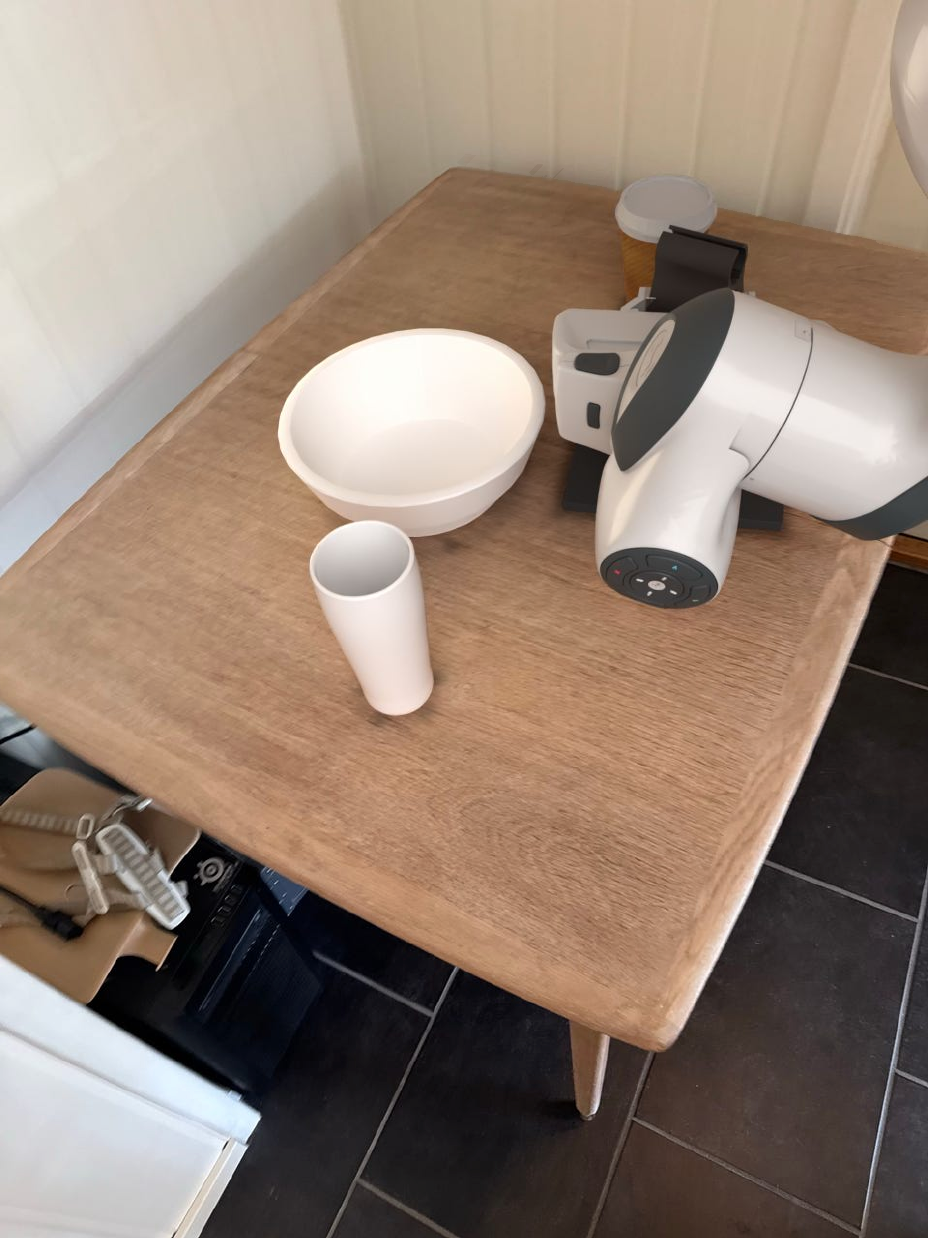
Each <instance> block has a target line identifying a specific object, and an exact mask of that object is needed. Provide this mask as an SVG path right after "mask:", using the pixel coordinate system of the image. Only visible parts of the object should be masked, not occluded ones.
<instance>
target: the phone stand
mask: <svg viewBox="0 0 928 1238" xmlns="http://www.w3.org/2000/svg"><path fill="white" fill-rule="evenodd" d="M669 229H671V230H672V233H670V232H666V231H663V232H662V234H661V236H660V239H659V241H658V244H657V248H656V253H655V271H654V277H653V282H652V286H651V291H650V295H649V296H651V297H654V298H656V299H655V300H654V301H653V302H652V303H651V304H649V305H648V306H647V308H646V312H659V313H670V312H671V311H673V310H674V309H676V308H678V307H679V306H681V305H683V304H685V303H686V302H688V301H690V300H692V299H694V298H696V297H698V296H700V295H702V294H705V293H707V292H710V291H714V290H717V289H721V288H730V289H731V290H734V291H737V292H741V293H742V292H743V291H745V290H744V289H745V283H744V282H745V281H744V280H745V279H744V278H745V271H746V270H745V269H746V264H747V260H748V256H749V255H748V254H749V246H748V244H747V243H745V242H740V241H736V240H732V239H729V238H725V237H722V236H717V235H714V234H709V233H708V234H706V233H702V232H698V231H694V230H690V229H686V228H682V227H678V226H674V225H669Z"/></svg>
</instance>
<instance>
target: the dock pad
mask: <svg viewBox="0 0 928 1238" xmlns="http://www.w3.org/2000/svg"><path fill="white" fill-rule="evenodd" d="M609 457H610V455H609V454H606V453H604V452H601V451H599V450H596V449H593V448H590V447H587V446H584V445H581V444H578V443H575V447H574V451H573V455H572V460H571V463H570V469H569V472H568V476H567V481H566V484H565V489H564V494H563V497H562V502H561V503H562V507H561V508H562V511H567V512H577V513H589V514H596V511H597V503H598V495H599V489H600V483H601V478H602V474H603V470H604V467H605V464H606V462H607V460H608V458H609ZM783 524H784V504H781V503H779V502H776V501H773V500H771V499H768V498H765V497H763V496H760V495H757V494H755V493H752V492H749V491H747V490H744V489H742V490H741V501H740V510H739V518H738V525H737V528H745V529H753V530H764V531H775V532H781V531H782V529H783Z"/></svg>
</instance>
